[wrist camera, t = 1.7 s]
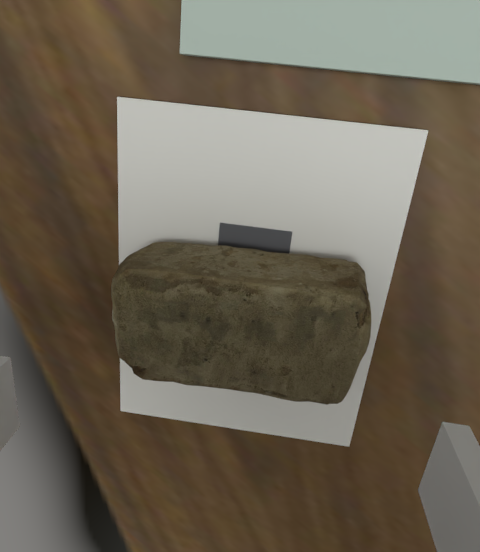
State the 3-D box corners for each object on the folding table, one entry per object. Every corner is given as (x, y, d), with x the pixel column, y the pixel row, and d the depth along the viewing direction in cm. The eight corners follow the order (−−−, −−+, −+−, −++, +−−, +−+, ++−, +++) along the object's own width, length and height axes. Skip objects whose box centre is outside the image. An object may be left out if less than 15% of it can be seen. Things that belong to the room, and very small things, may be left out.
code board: (348, 442, 27) (349, 448, 26) (122, 407, 27) (119, 411, 27) (426, 129, 20) (429, 130, 19) (119, 96, 20) (116, 96, 20)
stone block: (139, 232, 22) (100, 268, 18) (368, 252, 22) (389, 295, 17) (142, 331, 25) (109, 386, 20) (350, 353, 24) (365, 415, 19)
